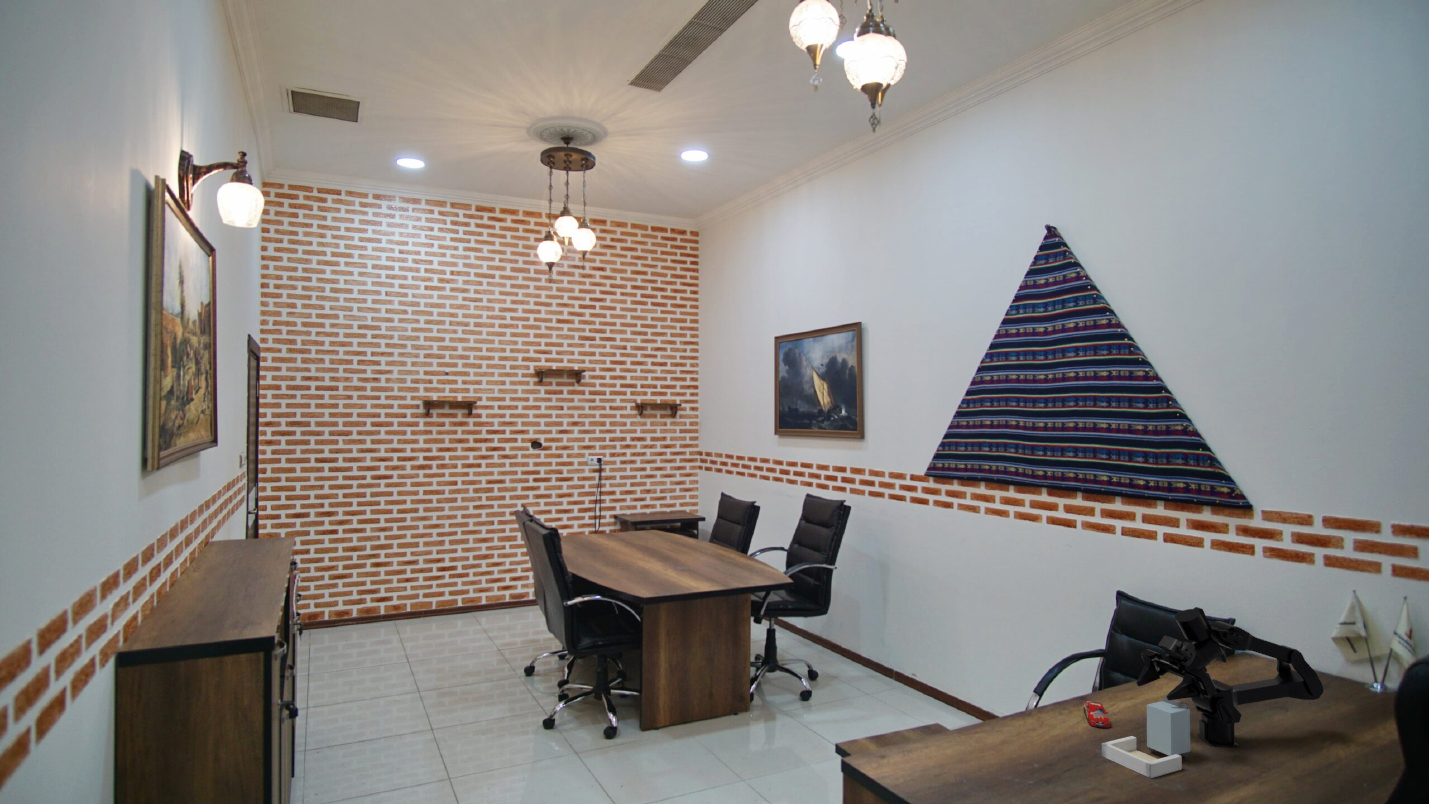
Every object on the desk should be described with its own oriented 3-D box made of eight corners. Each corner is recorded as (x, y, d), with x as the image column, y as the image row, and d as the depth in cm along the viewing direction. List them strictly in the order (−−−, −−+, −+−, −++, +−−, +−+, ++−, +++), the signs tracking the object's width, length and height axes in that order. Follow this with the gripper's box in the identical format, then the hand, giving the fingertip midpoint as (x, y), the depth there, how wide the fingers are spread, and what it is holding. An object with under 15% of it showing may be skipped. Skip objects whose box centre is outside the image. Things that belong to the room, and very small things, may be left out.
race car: (1111, 731, 196) (1111, 716, 196) (1088, 728, 198) (1088, 713, 198) (1104, 713, 209) (1104, 698, 209) (1082, 710, 211) (1082, 695, 211)
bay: (1131, 748, 185) (1131, 735, 185) (1181, 769, 174) (1181, 756, 174) (1101, 756, 181) (1101, 743, 181) (1150, 778, 170) (1150, 764, 170)
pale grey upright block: (1166, 746, 186) (1165, 696, 186) (1190, 756, 180) (1189, 704, 181) (1147, 751, 183) (1146, 700, 183) (1171, 762, 177) (1170, 709, 178)
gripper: (1154, 618, 197) (1110, 651, 194) (1217, 640, 179) (1170, 677, 176) (1171, 654, 199) (1128, 687, 195) (1236, 679, 180) (1189, 717, 177)
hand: (1152, 691), depth 186 cm, fingers open, 9 cm apart
